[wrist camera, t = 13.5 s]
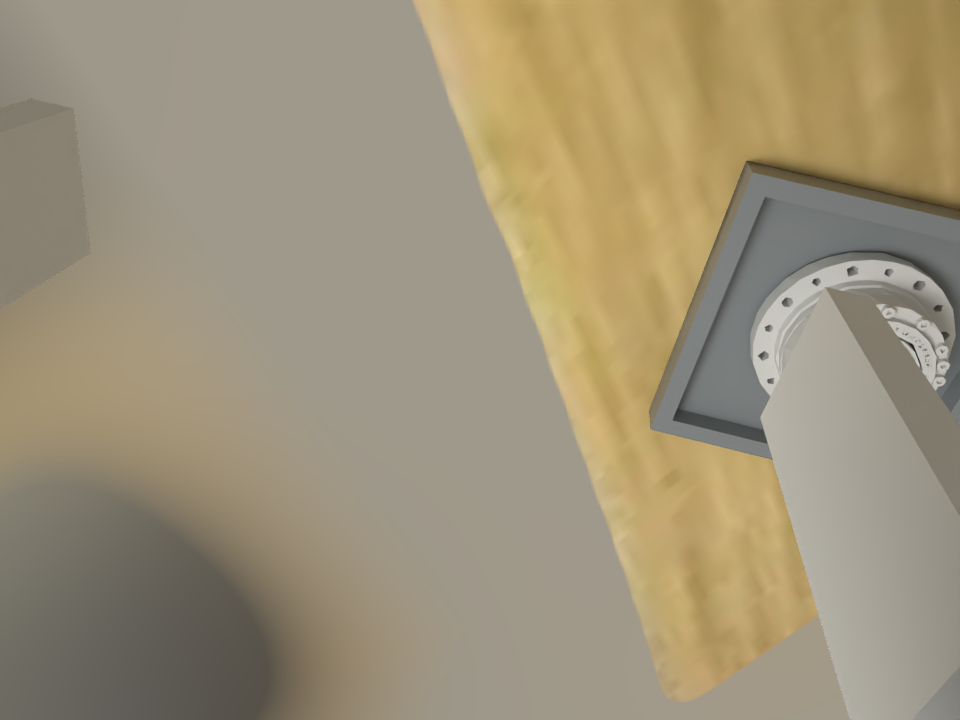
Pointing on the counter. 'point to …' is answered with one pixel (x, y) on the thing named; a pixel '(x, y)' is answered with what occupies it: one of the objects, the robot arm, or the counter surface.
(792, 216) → the dock tray
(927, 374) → the mechanical component
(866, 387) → the robot arm
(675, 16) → the counter surface
